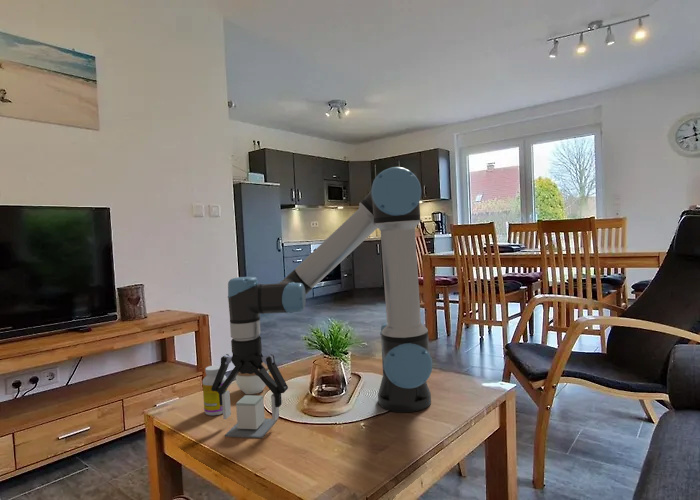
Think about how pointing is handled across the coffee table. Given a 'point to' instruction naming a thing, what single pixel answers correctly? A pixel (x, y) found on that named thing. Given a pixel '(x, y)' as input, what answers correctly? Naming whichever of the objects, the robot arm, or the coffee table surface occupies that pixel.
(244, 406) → the pale grey block
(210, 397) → the supplement bottle
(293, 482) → the coffee table surface
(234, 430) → the coaster
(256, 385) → the lidded jar
